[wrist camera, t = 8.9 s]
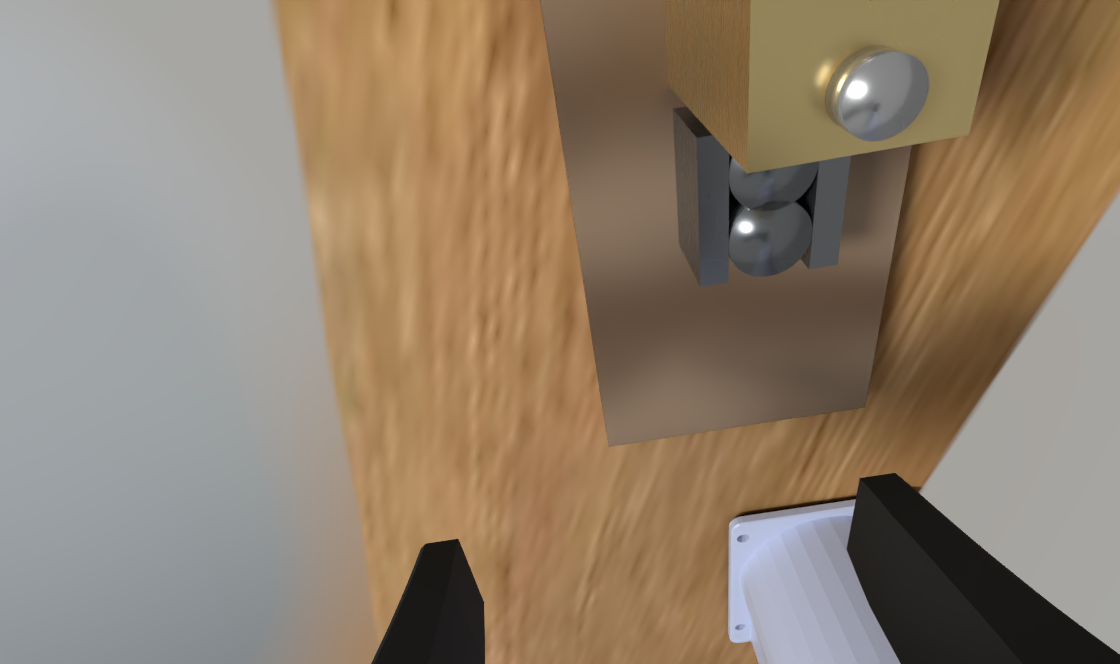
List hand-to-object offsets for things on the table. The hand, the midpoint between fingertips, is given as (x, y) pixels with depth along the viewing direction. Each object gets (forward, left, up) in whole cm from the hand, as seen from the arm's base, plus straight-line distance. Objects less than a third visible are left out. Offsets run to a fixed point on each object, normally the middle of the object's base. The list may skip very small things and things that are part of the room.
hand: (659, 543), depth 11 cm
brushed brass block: (+8, -4, -8) cm, 12 cm away
